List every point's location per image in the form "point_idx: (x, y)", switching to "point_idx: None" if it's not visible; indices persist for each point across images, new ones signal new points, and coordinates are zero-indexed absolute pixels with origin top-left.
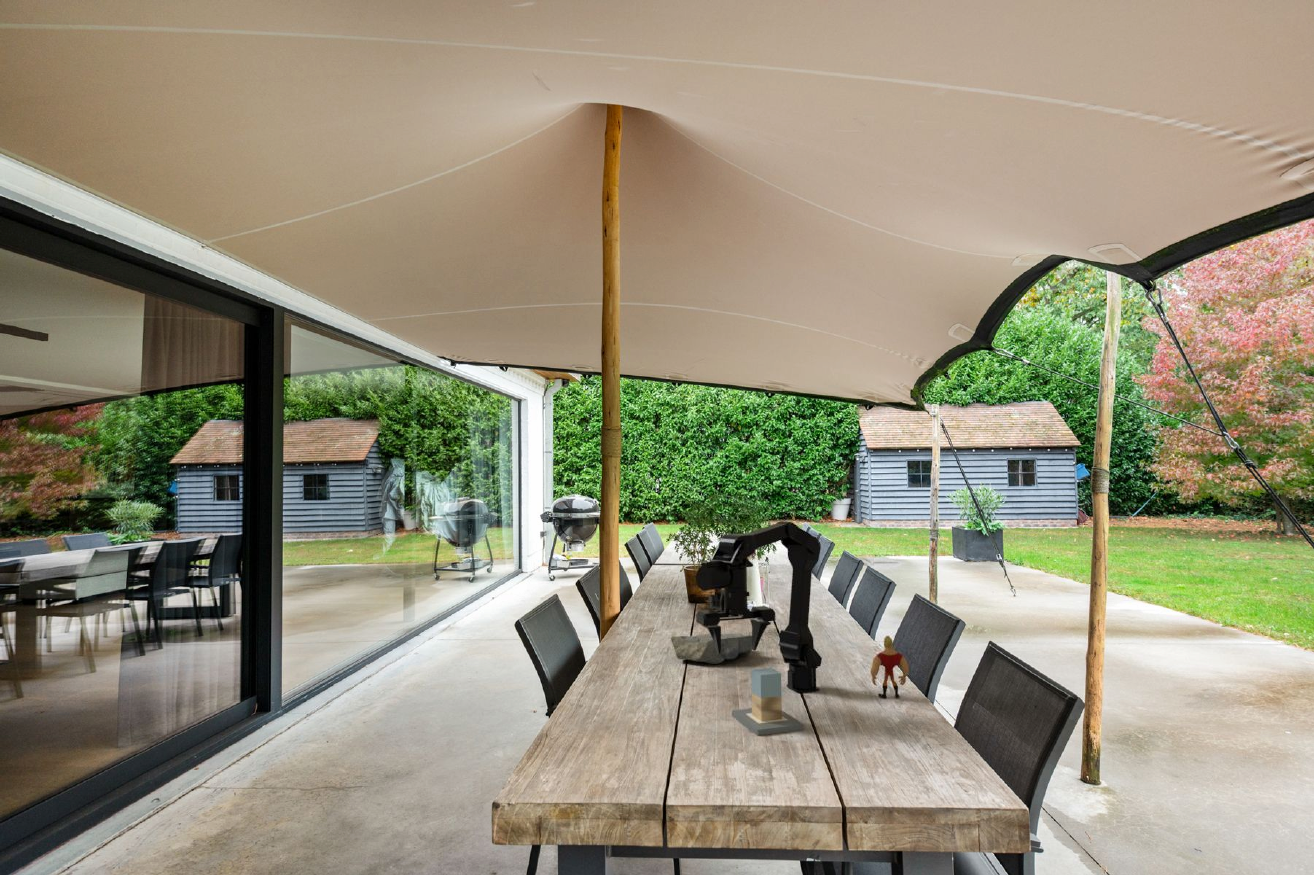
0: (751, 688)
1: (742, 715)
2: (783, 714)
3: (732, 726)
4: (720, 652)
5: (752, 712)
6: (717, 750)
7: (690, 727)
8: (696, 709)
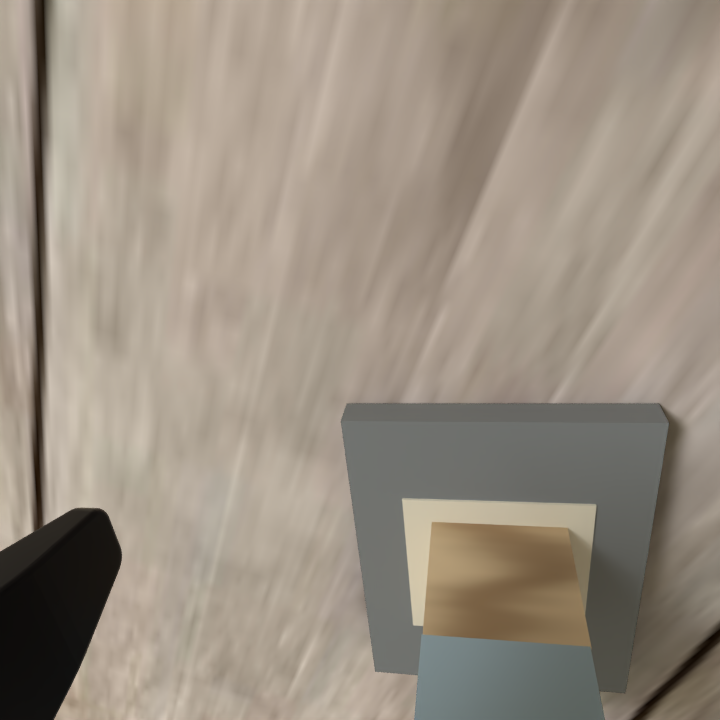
0: (419, 659)
1: (375, 509)
2: (615, 568)
3: (304, 531)
4: (111, 587)
5: (431, 537)
6: (189, 691)
7: (104, 481)
8: (154, 219)
